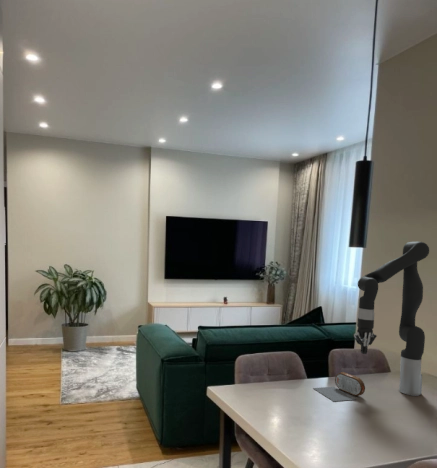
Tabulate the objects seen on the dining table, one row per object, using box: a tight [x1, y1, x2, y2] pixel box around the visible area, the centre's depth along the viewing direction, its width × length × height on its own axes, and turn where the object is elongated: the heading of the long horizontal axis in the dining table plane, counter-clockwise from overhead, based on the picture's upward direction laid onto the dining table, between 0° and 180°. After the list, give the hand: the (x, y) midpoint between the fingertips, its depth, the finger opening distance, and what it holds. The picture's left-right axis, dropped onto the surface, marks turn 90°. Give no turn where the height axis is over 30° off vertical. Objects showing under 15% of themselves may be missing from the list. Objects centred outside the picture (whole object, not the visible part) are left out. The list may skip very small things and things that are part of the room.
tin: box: [334, 371, 366, 397], centre depth 180 cm, size 15×3×8 cm, turn 37°
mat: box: [312, 386, 357, 403], centre depth 177 cm, size 12×16×1 cm
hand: (363, 353), depth 183 cm, fingers closed
